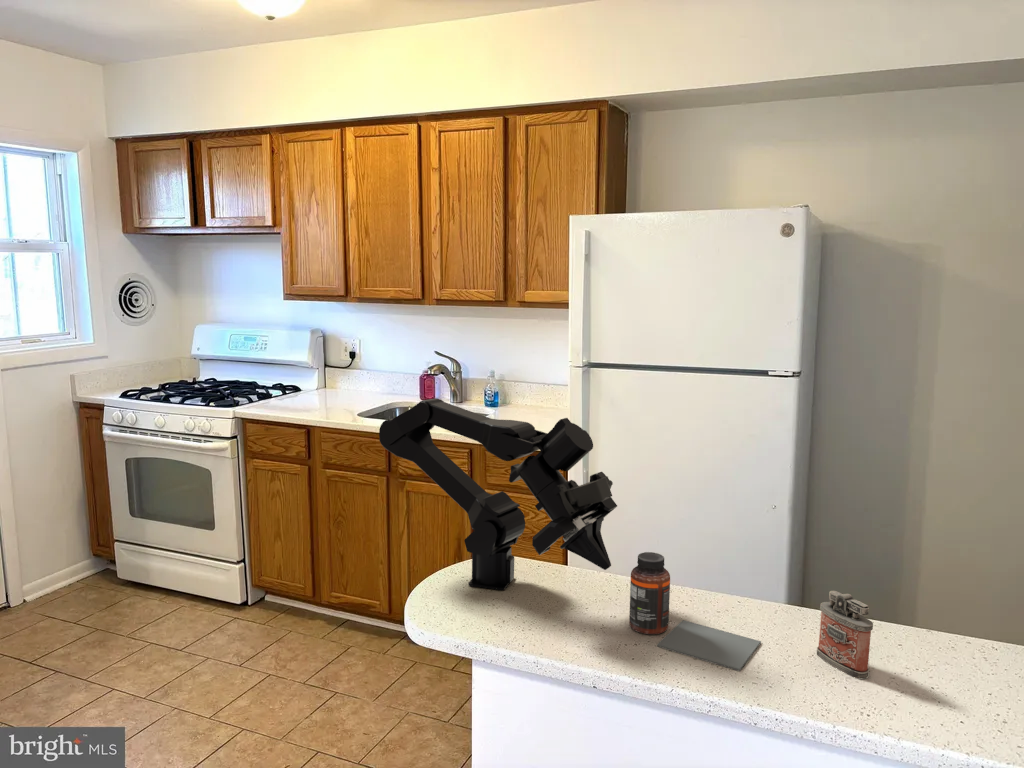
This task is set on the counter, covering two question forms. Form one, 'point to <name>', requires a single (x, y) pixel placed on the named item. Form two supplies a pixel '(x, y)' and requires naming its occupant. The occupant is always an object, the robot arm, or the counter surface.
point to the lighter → (845, 634)
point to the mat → (710, 644)
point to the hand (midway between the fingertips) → (608, 567)
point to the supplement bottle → (649, 594)
